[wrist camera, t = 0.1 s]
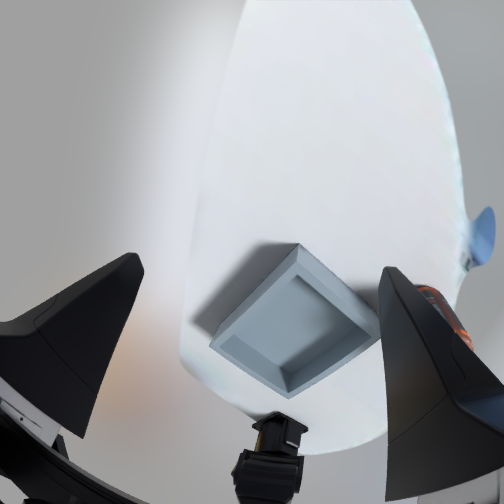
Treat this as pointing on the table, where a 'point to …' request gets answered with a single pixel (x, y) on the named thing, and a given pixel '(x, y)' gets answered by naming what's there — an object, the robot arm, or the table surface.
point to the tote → (297, 326)
